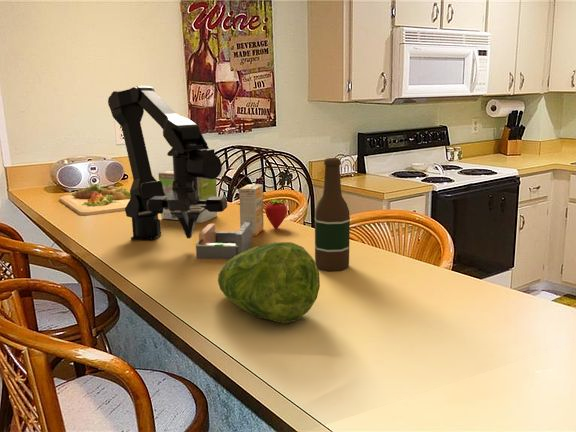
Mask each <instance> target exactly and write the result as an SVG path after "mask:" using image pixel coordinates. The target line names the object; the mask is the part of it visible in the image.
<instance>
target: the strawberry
mask: <svg viewBox="0 0 576 432" xmlns="http://www.w3.org/2000/svg"><path fill="white" fill-rule="evenodd" d="M277 196H279V194H277ZM285 202H287V200H285V199H284V200H282V199H280V200H278V199H270V200H268V201H267V204H266V205H265V208H264V212H265V215H266V218H267V219H268V221H269V223H270V224H271V226H272V227H273V229H278V228H279V227H280V226H281V224H283V222H284V220H285V219H286V217H287V213H288V207H287V206H286V204H285Z"/></svg>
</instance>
